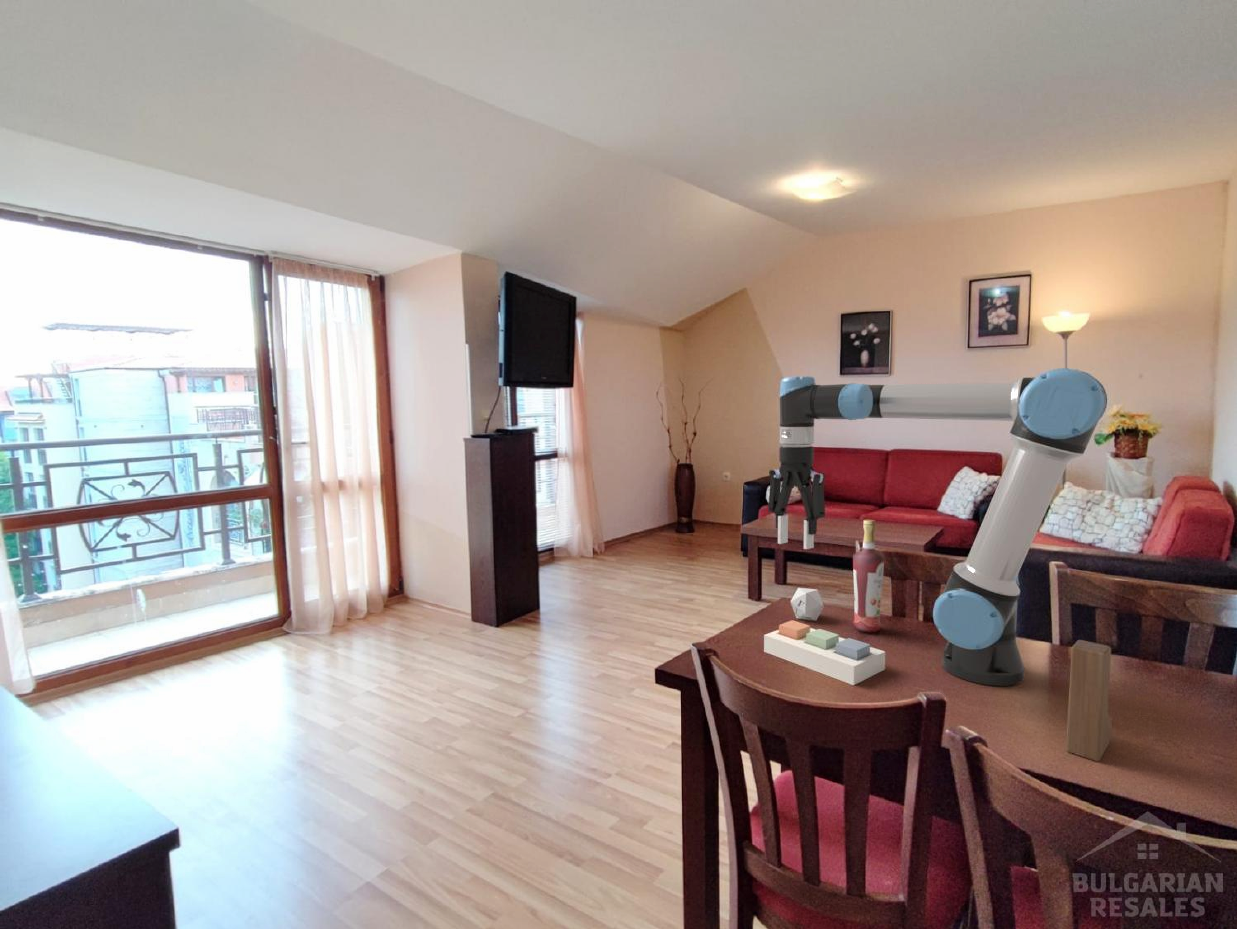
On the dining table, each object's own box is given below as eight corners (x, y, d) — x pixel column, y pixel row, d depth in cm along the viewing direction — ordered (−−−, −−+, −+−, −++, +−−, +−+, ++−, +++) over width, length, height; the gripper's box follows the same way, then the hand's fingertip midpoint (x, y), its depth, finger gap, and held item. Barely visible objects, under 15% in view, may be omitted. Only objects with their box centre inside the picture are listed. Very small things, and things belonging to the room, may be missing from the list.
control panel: (884, 669, 136) (885, 651, 136) (853, 685, 129) (853, 666, 129) (795, 639, 154) (796, 623, 154) (764, 651, 147) (764, 635, 147)
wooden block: (1078, 732, 110) (1084, 631, 108) (1111, 742, 106) (1117, 638, 105) (1065, 752, 104) (1071, 645, 102) (1099, 763, 100) (1105, 653, 99)
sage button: (838, 647, 141) (838, 634, 141) (825, 653, 138) (825, 640, 138) (819, 641, 145) (819, 628, 145) (806, 646, 142) (806, 633, 142)
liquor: (874, 637, 155) (876, 524, 152) (846, 629, 160) (848, 520, 158) (887, 629, 160) (890, 520, 157) (859, 622, 165) (862, 516, 162)
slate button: (869, 658, 135) (870, 644, 135) (856, 664, 132) (857, 650, 132) (848, 651, 139) (848, 638, 139) (835, 657, 136) (835, 643, 136)
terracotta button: (810, 638, 147) (810, 625, 147) (796, 643, 144) (796, 630, 143) (792, 632, 151) (792, 620, 150) (778, 637, 148) (779, 625, 147)
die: (785, 615, 174) (782, 594, 168) (807, 596, 176) (805, 575, 170) (809, 633, 168) (807, 612, 162) (831, 613, 171) (829, 592, 164)
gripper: (752, 444, 148) (751, 541, 150) (824, 448, 133) (822, 555, 135) (772, 442, 153) (771, 536, 155) (844, 446, 138) (842, 550, 140)
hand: (795, 545), depth 145 cm, fingers open, 6 cm apart
